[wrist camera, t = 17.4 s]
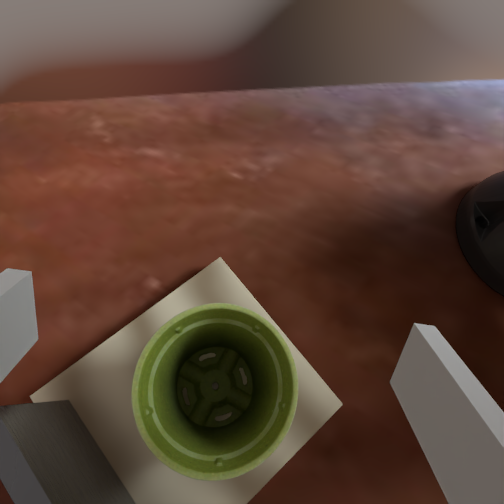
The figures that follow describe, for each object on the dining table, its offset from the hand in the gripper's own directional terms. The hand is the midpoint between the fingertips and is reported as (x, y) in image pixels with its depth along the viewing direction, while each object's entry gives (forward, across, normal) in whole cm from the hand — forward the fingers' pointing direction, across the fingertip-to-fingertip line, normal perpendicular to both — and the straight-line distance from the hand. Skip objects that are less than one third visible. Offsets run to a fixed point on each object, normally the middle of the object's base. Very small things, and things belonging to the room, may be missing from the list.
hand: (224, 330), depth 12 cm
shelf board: (+12, -1, -16) cm, 20 cm away
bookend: (+7, -7, -18) cm, 21 cm away
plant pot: (+11, 0, -14) cm, 18 cm away
